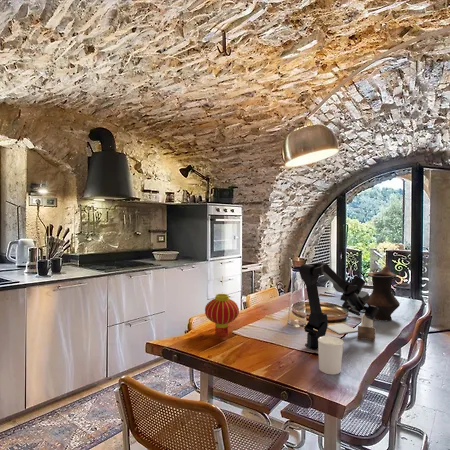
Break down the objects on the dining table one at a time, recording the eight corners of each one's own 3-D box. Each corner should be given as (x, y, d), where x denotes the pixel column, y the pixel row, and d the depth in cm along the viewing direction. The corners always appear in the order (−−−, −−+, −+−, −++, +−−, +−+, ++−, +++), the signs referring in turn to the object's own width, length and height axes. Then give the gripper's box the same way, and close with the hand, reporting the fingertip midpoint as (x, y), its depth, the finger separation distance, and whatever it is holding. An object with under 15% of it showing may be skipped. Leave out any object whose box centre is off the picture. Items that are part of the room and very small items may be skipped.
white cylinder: (337, 364, 146) (338, 336, 146) (346, 375, 137) (347, 345, 136) (314, 364, 146) (314, 335, 146) (321, 375, 136) (322, 345, 136)
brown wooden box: (357, 338, 176) (357, 326, 176) (357, 336, 179) (358, 324, 179) (374, 341, 173) (375, 329, 173) (374, 338, 176) (375, 327, 176)
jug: (395, 326, 196) (397, 272, 194) (360, 319, 207) (362, 268, 205) (403, 317, 212) (405, 267, 211) (370, 311, 224) (372, 264, 222)
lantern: (241, 330, 185) (242, 273, 183) (233, 342, 168) (234, 280, 166) (210, 327, 189) (211, 271, 188) (199, 338, 173) (200, 277, 171)
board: (339, 334, 182) (339, 333, 182) (325, 326, 193) (325, 325, 193) (358, 331, 186) (358, 330, 186) (343, 324, 197) (343, 323, 197)
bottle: (361, 331, 186) (362, 306, 186) (372, 333, 184) (373, 307, 184) (360, 335, 181) (361, 308, 181) (372, 336, 179) (373, 310, 179)
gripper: (376, 290, 171) (390, 310, 177) (346, 283, 187) (360, 301, 193) (365, 309, 167) (379, 328, 173) (335, 299, 184) (349, 317, 190)
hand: (366, 317), depth 182 cm, fingers open, 9 cm apart
